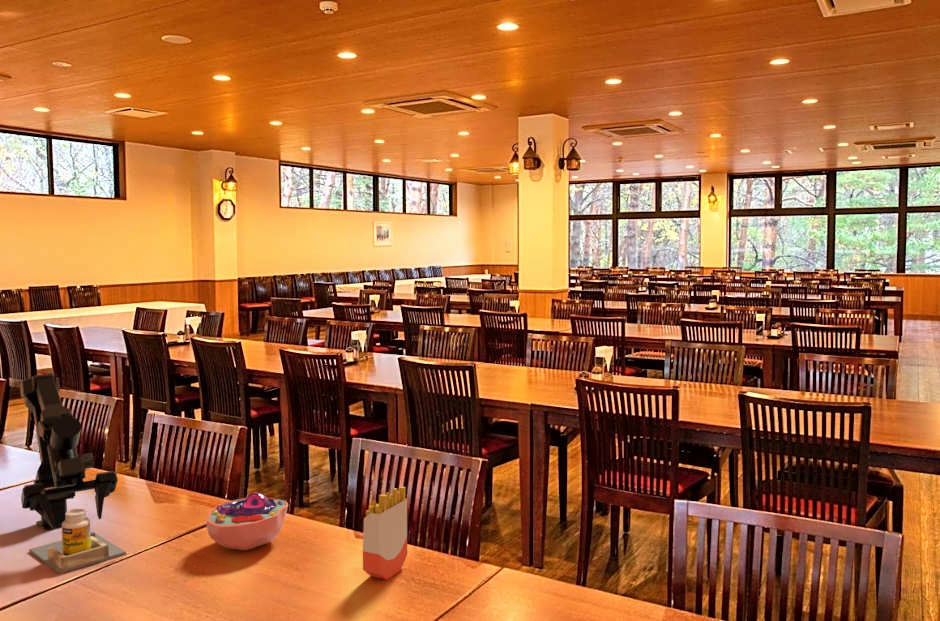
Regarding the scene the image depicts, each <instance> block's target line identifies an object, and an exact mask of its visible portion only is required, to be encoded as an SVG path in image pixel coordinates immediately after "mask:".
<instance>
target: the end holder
mask: <svg viewBox="0 0 940 621" xmlns="http://www.w3.org/2000/svg"><path fill="white" fill-rule="evenodd" d="M106 557H109V547H108V545H106V544H105V543H103V542H102V541H100V540H98V539H97V538H95V537H93V536H91V549H89V550H85V551H82V552H78V553H75V554H71V555H68V556H65V555H64V554H62V553H61V552H59V551H58V550H56V549H55V548H54V547H49V548H48V559H49V560H50V561H51V562H53V563H54V564H55V565H57V566H58V567H60V568H61V569H62V570H65V569H69V568H72V567H76V566H79V565H82V564H86V563H89V562H93V561H96V560H99V559H103V558H106Z"/></svg>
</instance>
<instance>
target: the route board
mask: <svg viewBox="0 0 940 621" xmlns="http://www.w3.org/2000/svg"><path fill="white" fill-rule="evenodd" d="M90 535H91V536H93V537H95V538H97V539H98V540H100V541H102V542H103V543H105V544H106V545H108V547H109V557H106V558H103V559H99V560H96V561H93V562H89V563H86V564H82V565H79V566H76V567H72V568H69V569H65V570H62V569H61V568H60V567H58V566H57V565H55V564H54V563H53V562H51V561H50V560H49V559H48V548H49V547H54V548H55V549H56V550H58V551H59V552H61V553H62V554H63V546H62V540H59V541H54V542H51V543H48V544H43V545H40V546H36V547H32V548H29V549H28V550H29V553H30V554H32V555H33V556H34V557H36V558H37V559H38V560H40V561H41V562H43V563H44V564H46V565H47V566H48V567H50V568H51V569H52V570H54V572H56V573H57V574H59V575H60V574H65V573H67V572H71V571H75V570H78V569H82V568H84V567H89V566H91V565H94V564H95V565H96V564H99V563H101V562H105V561H108V560H113V559H114V558H118V557H121V556H125V555H126V554H127V551H126V550H124V549H122V548H121V547H119V546H117V545H116V544H114V543H112V542H111V541H109V540H107V538H106V539H105V538H104V537H102V536H101V535H99V534H97V533H96V532H94V531H92V532H91V531H90Z"/></svg>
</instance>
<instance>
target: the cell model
mask: <svg viewBox="0 0 940 621" xmlns="http://www.w3.org/2000/svg"><path fill="white" fill-rule="evenodd" d="M288 507H289V503H288V502H287V501H286V500H284V499H281V498H276V497H275V498H273V497H267V496H266V495H264V494H263V493H261V492H257V491H256V492H252V493H249V494H248V495H247V496H246V497H240V498H237V499H233V500H230V501H227V502H226V501H225V502H223V503H219V504H218V505H216V506H215V507H213V508H212V509H211V510H210V511H209V512H208V513H207V517H206V530H207V535H208V536H209V538H210V539H212V541H214V542H215V543H217V544H218V545H220V546H222V547H224V548H225V549H231V550H238V551H248V550H252V549H254V548H256V547H260V546H263V545H266V544H268V543H270V542H273V541H274V540H275V539H276V537H277V536H278V535H279V534H280V532H281V530H282V528H283V526H284V523H285V519H286V515H287V512H288Z"/></svg>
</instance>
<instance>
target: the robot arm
mask: <svg viewBox="0 0 940 621" xmlns="http://www.w3.org/2000/svg"><path fill="white" fill-rule="evenodd" d="M60 385H61V384H60V378H59V377H57V376H56V374H53V373H47V374H46V373H45V374H37V375H36V374H35V375H34V376H32V377H31V378H25V379H24V380H22V381H21V383H20V386H19V390H20V391H19V392H20V397H21V398H23V400H24V406H25V407H26V408H27V409H28V410H29V411H30V412H31V413H32V414H33V417H34V418H33V420H34V426H35V432H36V433H35V434H36V440H37V446H38V454H39V460H40V464H39V466H38V469H37V471H36V475H35V479H34V480H33V484H26V485H24V486H23V488H22V491H21V496H20V498H21V507H22V509H29V511H31V512H33V511H35V512H36V513H37V514H39V516H40V520H38V521H35V522H36V523H35V524H36V525H37V526H39V527H40V528H42V529H44V530H45V531H47V530H51V529H56V528H59V527H62V523H63V522H64V521H65V513H66V512H68V504H67V502H68V501H67V500H69V499H74V498H75V497H76V493H79V492H83V491H89V490H94V492H95V496H94V500H95V506H96V516H97V518H98V520H101V519H102V516H103V515H102V514H103V508H104V501H105V498H107V497H109V496H110V495H111V494H112V493H113V492H115V491H116V487H117V485H118V481H119V479H118V475H117V473H116V472H115V471H113V470H109V471H104V472H96V475H95V479H92V480H91V479H90V480H86V481H85V480H84V479H85V478H86V472H87V469H92V468H93V467H94V466H95V462H94V456H93V452H88V453H84V454H82V455H81V456H79V455H78V449H77V446H78V444H79V440H80V437H81V432H82V430H83V426H82V425H83V424H82V423H81V422H80V420H78V418H77V417H75V416H73V412H72V411H71V409H70V408H68V407H66V406H64V405H63V403H62V400H61V397H60V392H61V387H60Z"/></svg>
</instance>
